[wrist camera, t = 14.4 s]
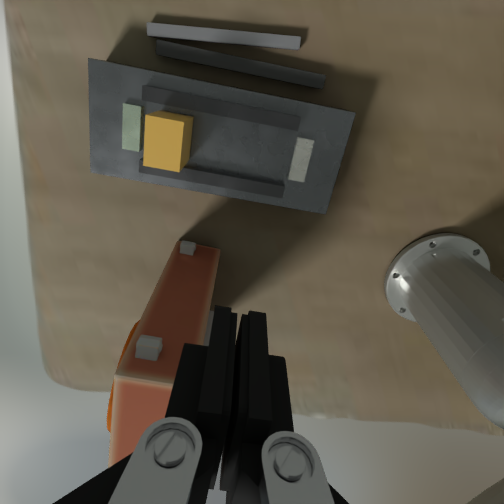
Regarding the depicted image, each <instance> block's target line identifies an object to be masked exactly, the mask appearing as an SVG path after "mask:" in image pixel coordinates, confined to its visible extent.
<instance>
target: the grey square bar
mask: <svg viewBox="0 0 504 504" xmlns="http://www.w3.org/2000/svg"><path fill="white" fill-rule="evenodd" d="M147 35H148V36H150V37H160V38H171V39H182V40H193V41H203V42H214V43H225V44H236V45H247V46H258V47H269V48H280V49H291V50H299V49H300V40H301V37H299V36H288V35H278V34H267V33H256V32H245V31H235V30H224V29H213V28H203V27H192V26H181V25H170V24H160V23H149V22H147Z"/></svg>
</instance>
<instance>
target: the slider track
mask: <svg viewBox="0 0 504 504" xmlns="http://www.w3.org/2000/svg"><path fill="white" fill-rule="evenodd" d="M88 74H89V121H90V168H91V172H92V173H97V174H103V175H108V176H114V177H120V178H125V179H131V180H136V181H142V182H148V183H153V184H159V185H164V186H170V187H176V188H181V189H187V190H192V191H198V192H203V193H209V194H215V195H220V196H226V197H231V198H237V199H243V200H248V201H254V202H259V203H265V204H271V205H276V206H282V207H287V208H293V209H299V210H304V211H310V212H315V213H321V214H326V212H327V208H328V205H329V202H330V198H331V195H332V191H333V188H334V185H335V181H336V178H337V175H338V171H339V168H340V164H341V161H342V158H343V154H344V151H345V148H346V144H347V141H348V137H349V134H350V131H351V127H352V124H353V121H354V117H355V114H356V113H354V112H351V111H348V110H344V109H339V108H334V107H329V106H324V105H320V104H315V103H310V102H305V101H300V100H295V99H290V98H285V97H281V96H276V95H271V94H266V93H261V92H256V91H251V90H246V89H242V88H237V87H232V86H227V85H222V84H217V83H212V82H207V81H203V80H198V79H193V78H188V77H183V76H178V75H173V74H168V73H164V72H159V71H154V70H149V69H144V68H139V67H134V66H129V65H124V64H120V63H115V62H110V61H105V60H98V59H91V58H88ZM159 110H163V111H168V112H173V113H178V114H183V115H188V116H194V118H193V128H192V137H191V147H190V157H189V161H188V162H187V163H186V165H185V166H184V167H183V168H182V170H181V171H180V172H175V171H169V170H164V169H158V168H153V167H148V166H143V157H144V135H145V115H146V114H149V113H153V112H156V111H159Z"/></svg>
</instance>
